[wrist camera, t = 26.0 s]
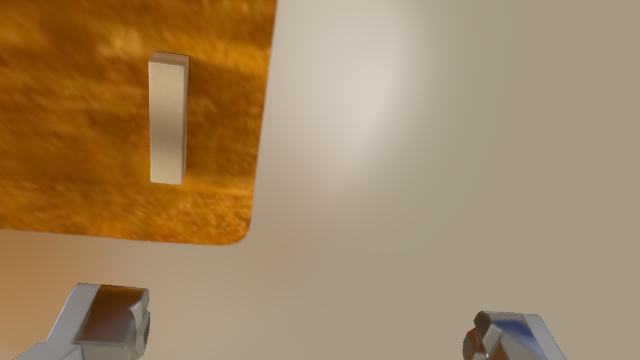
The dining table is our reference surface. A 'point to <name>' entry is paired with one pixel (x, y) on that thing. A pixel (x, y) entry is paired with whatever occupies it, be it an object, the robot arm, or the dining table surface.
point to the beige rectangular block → (168, 116)
